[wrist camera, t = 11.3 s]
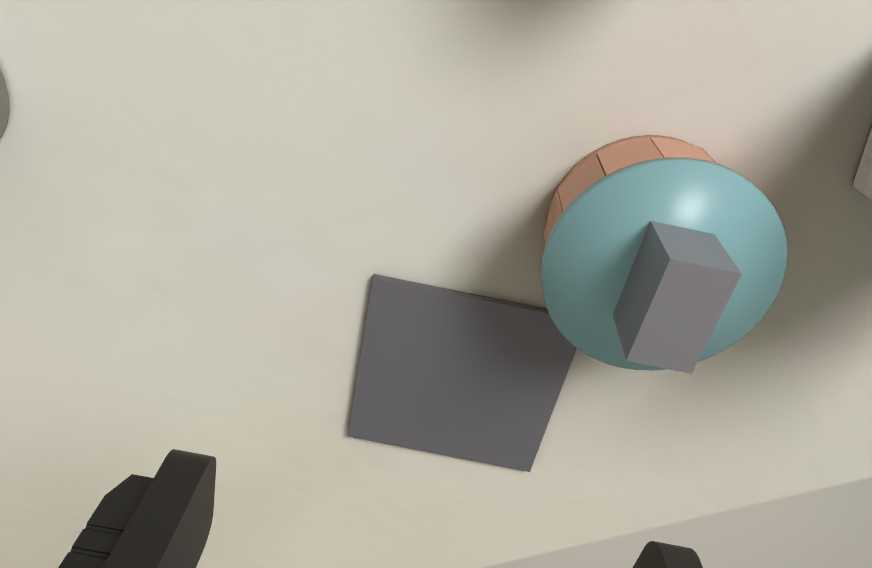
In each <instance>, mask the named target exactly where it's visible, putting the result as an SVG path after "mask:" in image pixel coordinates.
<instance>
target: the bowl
mask: <svg viewBox="0 0 872 568" xmlns="http://www.w3.org/2000/svg"><path fill="white" fill-rule="evenodd" d="M668 157H687V158H694V159H701V160H706V161H710V162H713V163H716V162H715V161H714V160H713V159H712V158H711V157H710V156H709V155H708V154H707V153H706V152H705V151H704V150H703V149H702V148H701V147H697V146H694V145H692V144H690V143H687V142H685V141H683V140H679V139H676V138H672V137H666V136H656V135H644V136H635V137H630V138H625V139H621V140H618V141H615V142H612V143H610V144H607V145H605V146H603V147H601V148H599V149H597V150H595V151H594V152H592V153H591V154H589V155H587V156H586V157H584V158H583V159H582V160H581V161H580V162H579V163H577V164H576V165H575V166H574V167H573V168H572V169H571V170H570V171H569V172H568V173H567V175H566V176H565V177H564V178H563V180H562V181H561V183H560V184H559V186H558V187H557V189H556V191H555V193H554V195H553V197H552V200H551V202H550V205H549V209H548V213H547V218H546V227H545V230H544V240H545V245H546V242H547V239H548V237H549V234H550V232H551V230H552V228H553V227H554V225H555V223H556V221H557V219H558V218H559V217H560V215H561V214H562V213H563V211H564V210H565V209H566V207H567V206H568V205H569V204H570V203H571V202H572V201H573V200H574V199H575V198H576V197H577V196H578V195H579V194H580V193H581V192H583V191H584V190H585V189H586V188H588V187H589V186H590V185H591V184H593V183H595V182H596V181H598V180H599V179H601V178H602V177H604V176H606V175H608V174H610V173H612V172H614V171H616V170H618V169H620V168H623V167H626V166H629V165H632V164H634V163H638V162H642V161H647V160H651V159H658V158H668Z"/></svg>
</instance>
